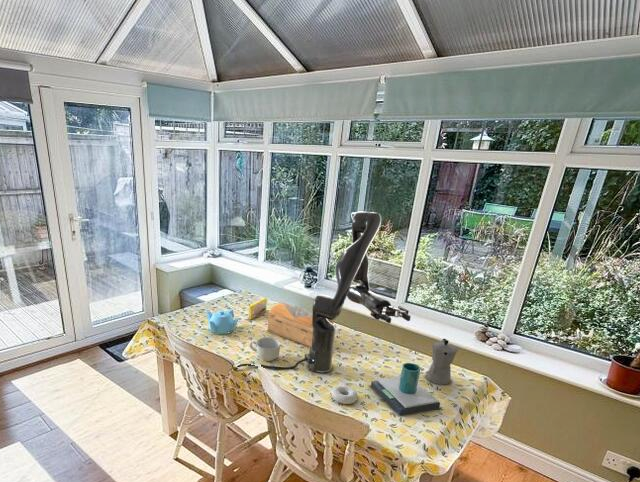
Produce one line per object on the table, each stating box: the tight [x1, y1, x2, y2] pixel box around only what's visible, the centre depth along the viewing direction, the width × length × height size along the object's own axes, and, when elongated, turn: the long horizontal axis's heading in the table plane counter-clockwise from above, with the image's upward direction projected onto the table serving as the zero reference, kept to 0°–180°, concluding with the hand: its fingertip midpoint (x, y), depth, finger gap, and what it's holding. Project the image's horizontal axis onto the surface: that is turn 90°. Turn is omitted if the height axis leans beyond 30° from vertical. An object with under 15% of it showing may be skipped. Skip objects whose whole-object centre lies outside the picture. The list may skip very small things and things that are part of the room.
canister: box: [399, 362, 422, 394], centre depth 157 cm, size 6×6×10 cm
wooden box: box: [267, 302, 334, 348], centre depth 208 cm, size 30×16×14 cm, turn 47°
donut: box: [330, 385, 359, 405], centre depth 158 cm, size 10×3×10 cm
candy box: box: [248, 297, 268, 321], centre depth 233 cm, size 16×2×8 cm, turn 147°
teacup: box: [249, 336, 281, 362], centre depth 186 cm, size 14×11×8 cm
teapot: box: [205, 308, 239, 336], centre depth 213 cm, size 15×15×11 cm
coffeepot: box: [426, 338, 459, 385], centre depth 170 cm, size 15×9×18 cm, turn 159°
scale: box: [370, 375, 441, 416], centre depth 159 cm, size 17×20×3 cm
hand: (400, 319), depth 159 cm, fingers open, 8 cm apart
